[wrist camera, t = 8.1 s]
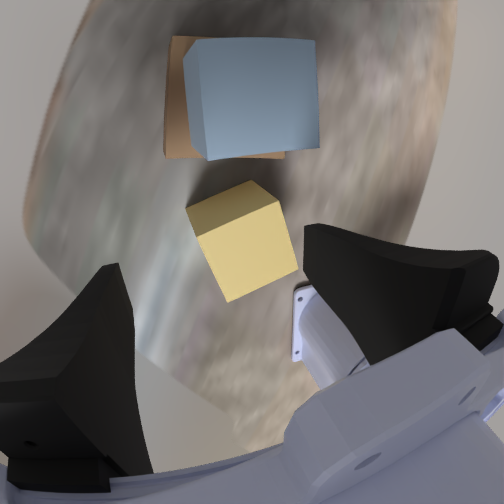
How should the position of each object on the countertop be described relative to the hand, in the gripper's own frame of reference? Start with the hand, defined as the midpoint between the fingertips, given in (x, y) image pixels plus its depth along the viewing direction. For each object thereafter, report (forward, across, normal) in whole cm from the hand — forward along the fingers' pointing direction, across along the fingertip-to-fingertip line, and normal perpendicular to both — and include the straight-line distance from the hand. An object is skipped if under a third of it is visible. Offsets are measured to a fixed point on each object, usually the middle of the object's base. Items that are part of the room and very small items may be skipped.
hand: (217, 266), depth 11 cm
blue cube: (+7, -3, -6) cm, 10 cm away
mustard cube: (+10, -3, +3) cm, 11 cm away
